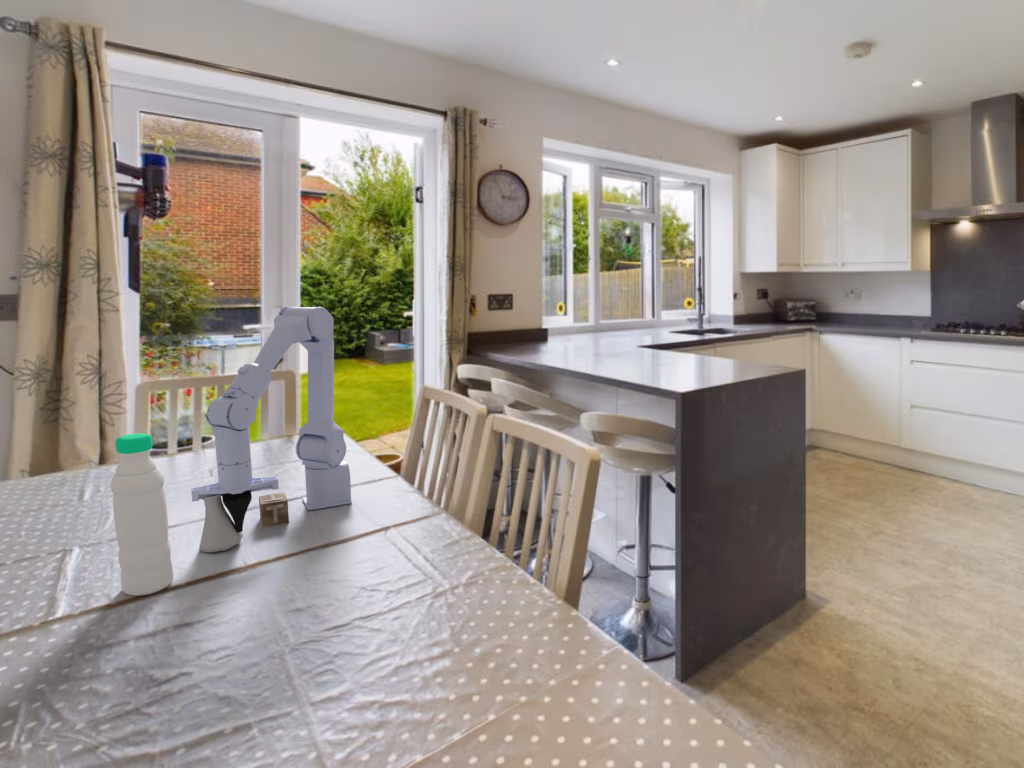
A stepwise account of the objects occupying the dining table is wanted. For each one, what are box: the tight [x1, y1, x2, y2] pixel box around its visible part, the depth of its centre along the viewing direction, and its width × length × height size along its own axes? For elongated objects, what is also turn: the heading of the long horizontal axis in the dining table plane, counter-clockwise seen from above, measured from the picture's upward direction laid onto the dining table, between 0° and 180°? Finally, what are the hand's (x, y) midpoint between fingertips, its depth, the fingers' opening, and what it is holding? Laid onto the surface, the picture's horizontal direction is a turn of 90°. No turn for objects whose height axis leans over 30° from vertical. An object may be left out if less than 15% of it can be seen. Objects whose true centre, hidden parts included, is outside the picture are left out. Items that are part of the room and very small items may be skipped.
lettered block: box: [258, 492, 290, 528], centre depth 118 cm, size 5×5×5 cm
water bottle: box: [110, 432, 174, 597], centre depth 90 cm, size 7×7×25 cm
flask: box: [198, 494, 244, 553], centre depth 106 cm, size 7×7×10 cm
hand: (239, 530), depth 108 cm, fingers closed
